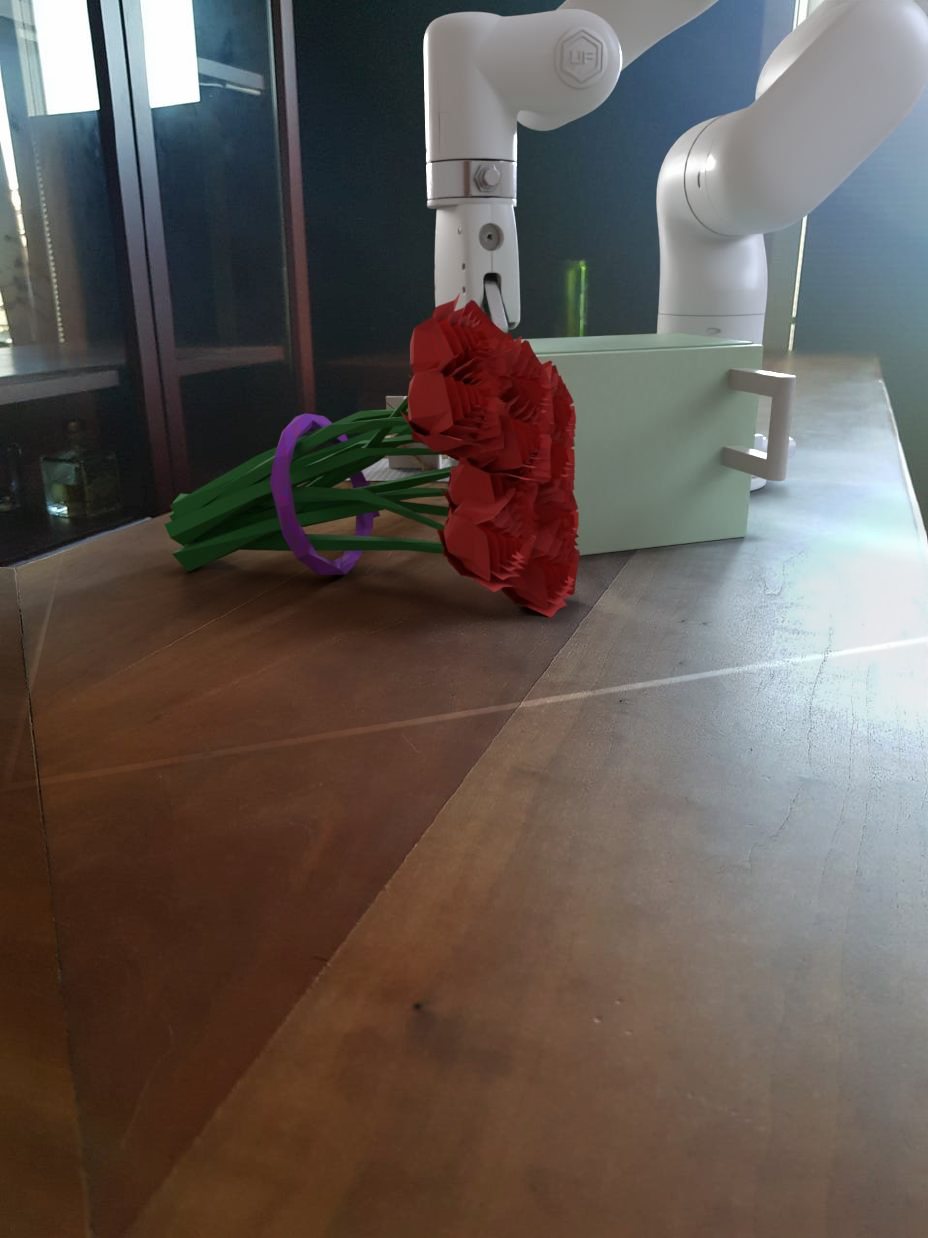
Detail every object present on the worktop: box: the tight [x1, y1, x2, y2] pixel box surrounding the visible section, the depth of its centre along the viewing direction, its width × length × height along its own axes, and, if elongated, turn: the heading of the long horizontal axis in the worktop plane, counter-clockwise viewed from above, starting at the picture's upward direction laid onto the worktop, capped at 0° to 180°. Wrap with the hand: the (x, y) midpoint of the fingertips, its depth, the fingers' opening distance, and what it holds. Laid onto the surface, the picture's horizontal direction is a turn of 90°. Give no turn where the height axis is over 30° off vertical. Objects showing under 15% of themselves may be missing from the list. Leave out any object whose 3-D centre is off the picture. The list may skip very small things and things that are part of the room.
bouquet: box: [163, 292, 580, 618], centre depth 63 cm, size 20×16×30 cm
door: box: [536, 344, 797, 557], centre depth 66 cm, size 7×18×14 cm, turn 108°
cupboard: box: [514, 333, 754, 355], centre depth 74 cm, size 11×18×15 cm, turn 108°
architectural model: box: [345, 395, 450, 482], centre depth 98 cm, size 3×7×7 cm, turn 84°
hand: (473, 407), depth 86 cm, fingers closed on planter, 4 cm apart
